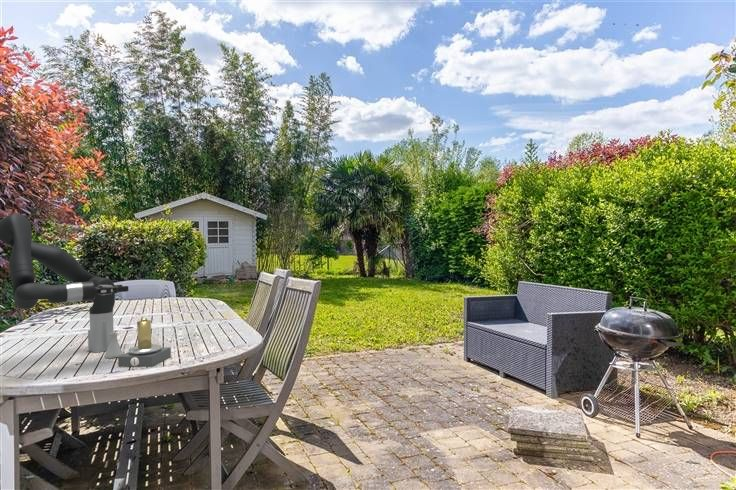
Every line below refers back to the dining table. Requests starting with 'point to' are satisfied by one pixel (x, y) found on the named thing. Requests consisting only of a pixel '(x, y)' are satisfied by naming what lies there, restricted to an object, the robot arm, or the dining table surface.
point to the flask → (113, 347)
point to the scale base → (144, 358)
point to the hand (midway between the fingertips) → (125, 287)
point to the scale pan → (143, 351)
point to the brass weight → (144, 334)
